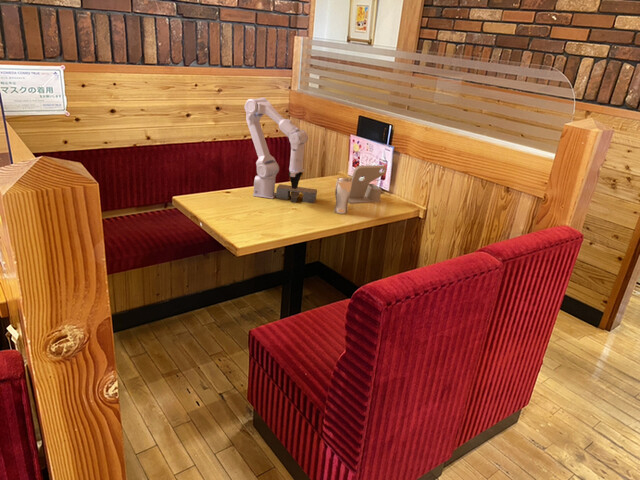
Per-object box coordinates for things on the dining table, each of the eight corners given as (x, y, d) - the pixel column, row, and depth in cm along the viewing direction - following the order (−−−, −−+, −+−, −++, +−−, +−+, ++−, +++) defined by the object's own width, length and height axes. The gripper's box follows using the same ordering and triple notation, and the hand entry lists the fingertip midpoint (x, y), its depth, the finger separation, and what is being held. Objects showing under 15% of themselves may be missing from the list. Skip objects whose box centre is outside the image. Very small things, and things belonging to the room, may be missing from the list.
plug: (289, 202, 226) (289, 195, 224) (291, 193, 238) (291, 186, 237) (297, 203, 226) (298, 196, 224) (299, 193, 239) (300, 186, 237)
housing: (275, 198, 229) (276, 187, 227) (278, 194, 235) (279, 184, 233) (314, 203, 227) (315, 193, 225) (316, 199, 233) (317, 189, 231)
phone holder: (372, 195, 247) (377, 160, 240) (382, 202, 239) (387, 166, 232) (341, 196, 240) (345, 160, 233) (350, 204, 232) (355, 166, 225)
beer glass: (348, 210, 224) (352, 178, 218) (348, 215, 217) (352, 182, 211) (333, 208, 224) (337, 176, 218) (332, 213, 218) (336, 180, 212)
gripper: (302, 163, 209) (300, 194, 215) (308, 156, 223) (305, 185, 228) (286, 161, 210) (284, 192, 215) (293, 154, 223) (291, 182, 229)
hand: (294, 188), depth 222 cm, fingers closed
